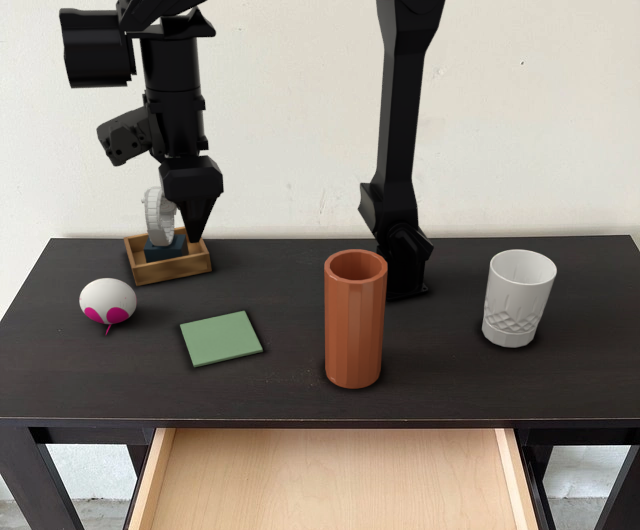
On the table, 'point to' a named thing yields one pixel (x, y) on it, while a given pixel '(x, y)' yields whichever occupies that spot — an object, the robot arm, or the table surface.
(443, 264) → the table surface
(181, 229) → the wooden box
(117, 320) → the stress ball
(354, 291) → the vase
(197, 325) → the mat
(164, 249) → the watch
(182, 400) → the table surface
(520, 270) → the white cup
